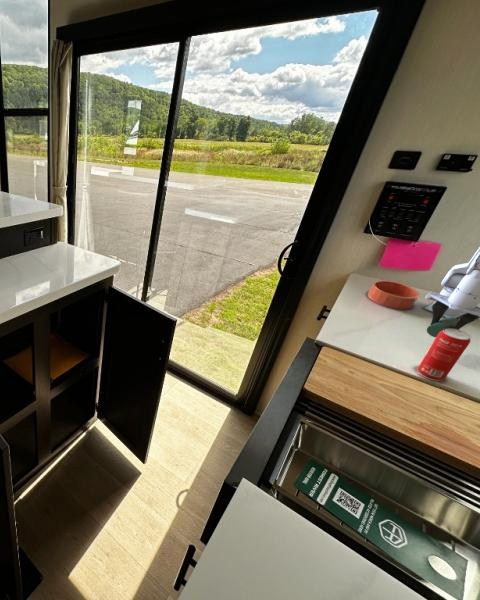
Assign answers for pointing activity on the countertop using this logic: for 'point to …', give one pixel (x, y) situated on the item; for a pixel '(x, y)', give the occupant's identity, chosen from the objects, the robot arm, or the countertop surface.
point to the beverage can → (443, 353)
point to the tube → (441, 326)
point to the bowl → (393, 294)
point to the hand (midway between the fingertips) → (442, 328)
